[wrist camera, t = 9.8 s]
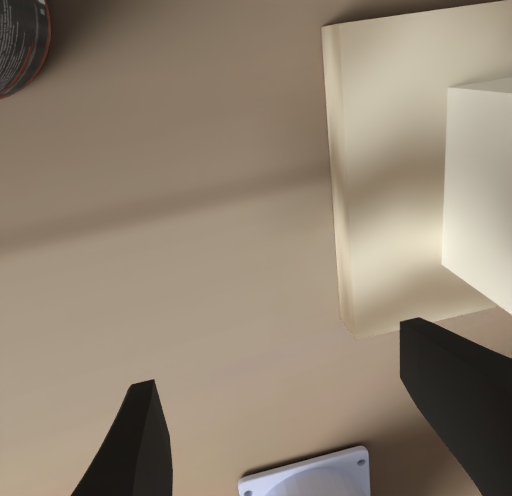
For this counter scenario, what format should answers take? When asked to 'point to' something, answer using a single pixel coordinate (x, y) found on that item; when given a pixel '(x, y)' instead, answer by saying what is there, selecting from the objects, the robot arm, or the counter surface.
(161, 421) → the robot arm
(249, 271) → the counter surface
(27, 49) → the supplement bottle
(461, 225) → the housing
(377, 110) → the stand
